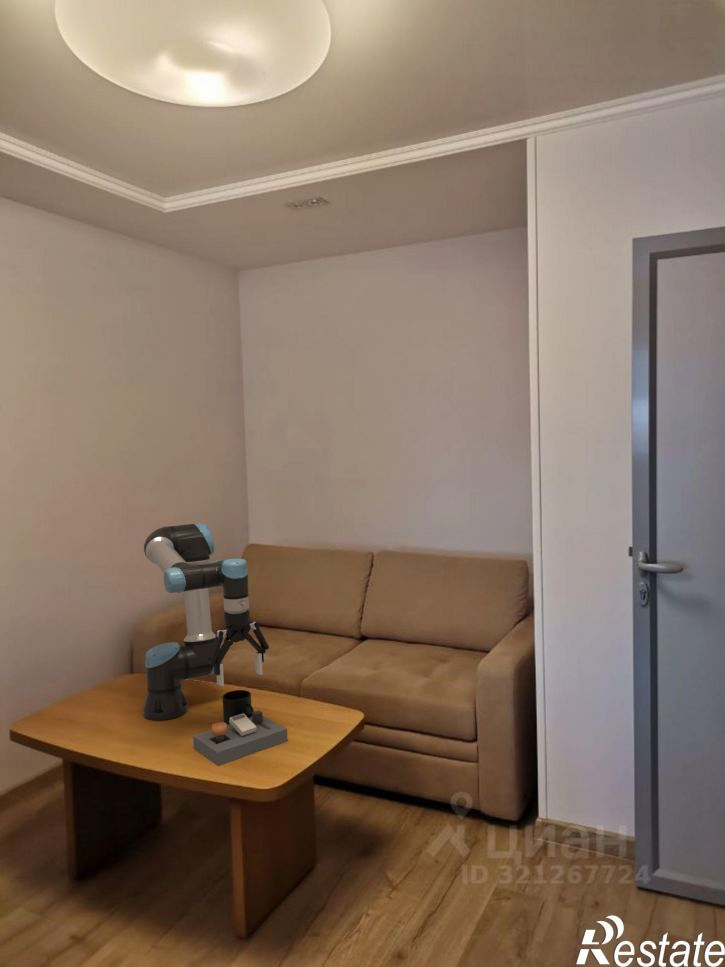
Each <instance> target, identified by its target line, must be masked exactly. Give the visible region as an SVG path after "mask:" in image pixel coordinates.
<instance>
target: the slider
mask: <svg viewBox="0 0 725 967" xmlns="http://www.w3.org/2000/svg"><path fill="white" fill-rule="evenodd" d="M263 716H264V715H263V711H261V710H255V711H254V712H252V721H253V722H254V723H260V722H263Z"/></svg>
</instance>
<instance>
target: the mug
mask: <svg viewBox="0 0 725 967" xmlns="http://www.w3.org/2000/svg"><path fill="white" fill-rule="evenodd" d="M221 699H222V712H223V714H222V715H223V716H222V717H223V722H225V723H226V724H227V725H229V724H230V723H229V719H230V717H234V716H237V715H240V714H243V713H244V714H245V715H246V716H247V717H248V718H251V717H252V712H254V707H253V706H252V694H251V692H250V691H248V690H243V689H237V690H230V691H227V692H224V694H223V695H222V698H221Z"/></svg>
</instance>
